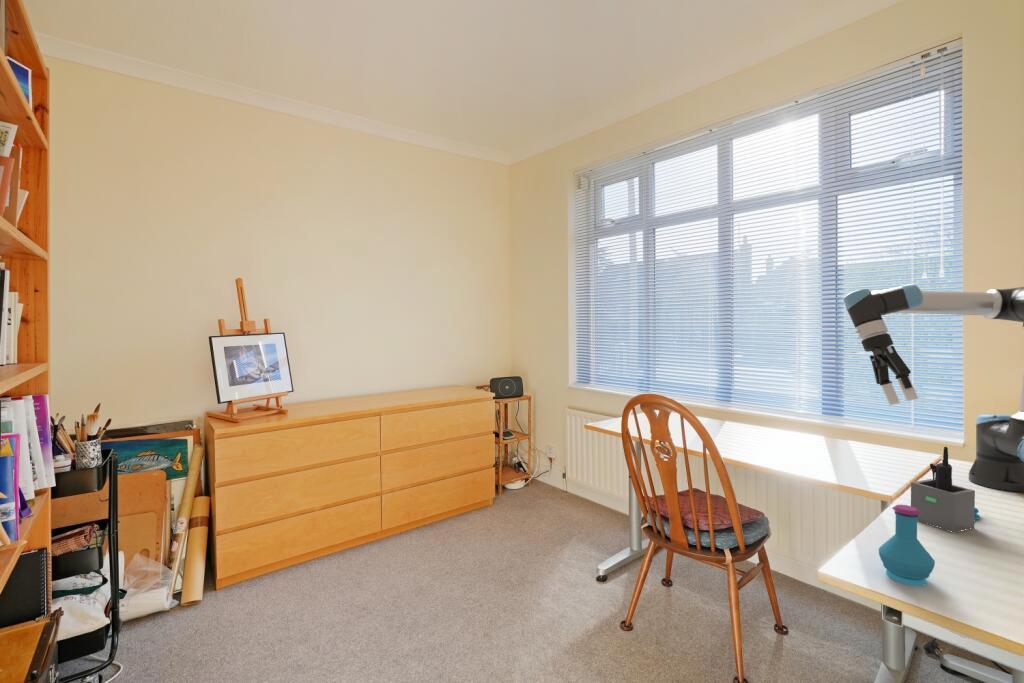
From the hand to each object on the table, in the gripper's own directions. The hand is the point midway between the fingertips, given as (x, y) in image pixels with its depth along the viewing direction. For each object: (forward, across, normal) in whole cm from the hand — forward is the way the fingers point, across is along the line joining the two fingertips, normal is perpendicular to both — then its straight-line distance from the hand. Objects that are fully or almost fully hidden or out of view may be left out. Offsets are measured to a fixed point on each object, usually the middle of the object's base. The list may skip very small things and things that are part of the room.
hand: (903, 402), depth 144 cm
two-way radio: (+27, +11, -5) cm, 30 cm away
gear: (+33, +2, +1) cm, 33 cm away
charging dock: (+33, +10, -7) cm, 35 cm away
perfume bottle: (+36, +44, -28) cm, 64 cm away
